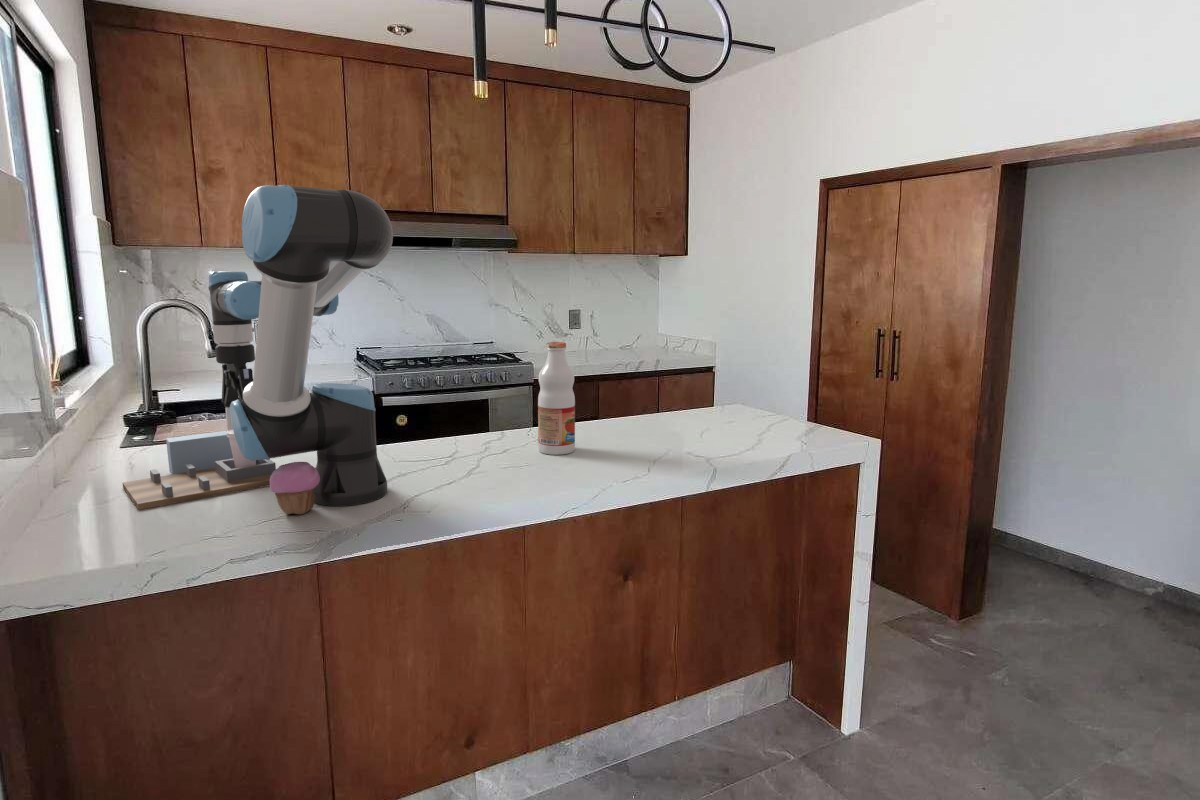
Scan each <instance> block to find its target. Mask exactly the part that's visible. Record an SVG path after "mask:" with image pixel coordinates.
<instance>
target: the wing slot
mask: <svg viewBox="0 0 1200 800" xmlns="http://www.w3.org/2000/svg"><path fill="white" fill-rule="evenodd" d="M185 471H186V474H187V475H188V476H189V477H196V470H195V467H194V466H193V465H192V464H186V465H185ZM149 474H150V478H151V480H152V481H153V482H154V483H160V482H161V478H160V476H161V472H159V471H158V469H157V468H154V469H150V470H149ZM198 482H199V487H200V488H201V489H202V490H203V491H205V490H210V483H209V480H208V479H207V478H206V477H205V476H201V477H198ZM161 486H162V493H163V494H164V495H165V496H166V497H171V496H173V489H172V486H171V485H170V484H169V483H168V482H165V483H161Z"/></svg>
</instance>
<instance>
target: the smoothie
mask: <svg viewBox="0 0 1200 800" xmlns="http://www.w3.org/2000/svg"><path fill="white" fill-rule="evenodd" d="M226 431H227V430H226ZM227 437H229V441H230V446H231V450H232V454H233V459H234V463H235V468H239V467H245V466H251V465H256V460H248V459H246V458H245V457H244V456H243V455H242V453H241V451H240V449H239V446H238V444H237V441H236V438H235V434H234V431H233V429H232V430H229V431H227Z"/></svg>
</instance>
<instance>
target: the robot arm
mask: <svg viewBox="0 0 1200 800" xmlns="http://www.w3.org/2000/svg"><path fill="white" fill-rule="evenodd" d="M241 231H242V234H241V242H242V247H243V250H244V253H245V255H246V257H248V259H250V260H251V261H252V265H253V266H254V268H255V269H256V270H257V272H258V273H260V274H261V280H249V277H248V273H246V272H245V271H212V272H210V273H209V274H208V287H207V289H208V291H209V297H210V306H211V315H212V316H211V317H212V331H213V333H212V334H213V341H214V343H215V344H216V346H215V347H214V350H215V361H216V363H218V364H222V366H221V368H222V369H221V370H222V383H221V384H222V385H221V386H222V387H221V388H222V389H221V403H222V404H223V406H224V407H225V408H224V409H225V411H224V412H225V419H226V420H225V421H226V429H227V430H226V431H229V430H232V429H233V431H234V434H235V438H236V441H237V444H238V446H239V449H240V451H241V453H242V455H243V456H244V457H245V458H246V459H248V460H263V459H267V460H269V459H270V460H271V459H275V458H281V457H287V456H293V455H299V454H305V453H312V452H316V457H317V458H316V461H317V462H316V466H315V468H316V470H317V471H318V473H319V476H320V482H319V484H318V485H317V486H316V487H315V489H314V504H319V505H322V506H332V507H344V506H345V507H347V506H354V505H355V506H356V505H361V504H368V503H370V502H374V501H377V500H379V499H382V498H383V497H385V496H386V495H387V493H388V491H389V490H388V481H387V478H386V475H385V473H384V470H383V468H382V466H381V462H380V460H379V458H378V449H377V429H376V428H377V427H376V411H377V410H376V409H377V408H376V407H375V399H374V393H373V391H372V390H371V389H370V388H368V387H366V386H361V385H359V384H358V385H357V384H350V383H349V384H348V383H337V382H322V383H321V382H319V383H315V384H313V385H312V388H311V392H310V391H309V390H308V388H307V387H306V386H305V380H306V372H307V364H308V358H309V349H310V344H311V343H310V342H311V336H312V335H311V334H312V327H313V320H314V319H313V317H321V316H327V315H328V316H330V315H333V314H335V313H336V312H337V311H338V310H337V309H338V306H339V299H340V297H339V294H340V293H341V292H342V291H343V290H345V289H346V287H347V286H348V285H349V284H350V283H351V282H352V281H354V279H356V278H357V277H358V276H359V275H360V274H361V273H362V272H363V271H364V270H369V269H372V268H374V267H376V266H378V265H379V264H380V263H381V262H382V261H383V260H384V259H385V258H386V257H387V255H388V254H390V251H391V249H392V245H393V242H394V240H393V239H394V232H393V226H392V223H391V220H390V217H389V215H388V214H387V212H386V211H385V210H384V209H383V207H382V206H381V205H380V204H379V203H377V201H375V200H374V199H373V198H371V196H368V195H366V194H363V193H361V192H358V191H354V190H349V189H334V188H321V187H320V188H318V187H317V188H316V187H307V186H306V187H303V186H294V185H293V186H291V185H289V184H279V185H261V186H258V187H256V188H255V189H254V190H252V192H250V194H248V197H247V199H246V202H245V204H244V208H243V212H242V219H241ZM256 319H258V320H257V331H256V328H255V327H253V324H252V323H253V320H256ZM254 332H256V342H255V343H256V344H255V345H253V344H252V342H254V336H253V335H254V334H253V333H254ZM252 362H254V366H253V370H252V368H247V363H252Z"/></svg>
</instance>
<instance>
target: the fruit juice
mask: <svg viewBox="0 0 1200 800" xmlns="http://www.w3.org/2000/svg"><path fill="white" fill-rule="evenodd" d="M546 350H547V357H546V359H545V363H544V365H543V366H542V368H541V369H540V371H539V373H538V383H539V387H540V389H539V393H538V397H537V408H538V409H537V413H538V414H537V418H538V419H537V420H538V421H537V424H538V427H537V429H538V430H537V431H538V432H537V435H538V443H537V445H538V451H539V452H540V453H542V454H545V455H551V456H560V455H561V456H562V455H567V454H571V453H573V452H574V451H575V448H576V399H575V398H576V397H575V393H574V390H573V386H574V383H575V373H574V371H573V370H572V368H571V367H570V365H569V364H568V362H567V357H566V350H567V343H566V342H564V341H548V342H547V343H546Z"/></svg>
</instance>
